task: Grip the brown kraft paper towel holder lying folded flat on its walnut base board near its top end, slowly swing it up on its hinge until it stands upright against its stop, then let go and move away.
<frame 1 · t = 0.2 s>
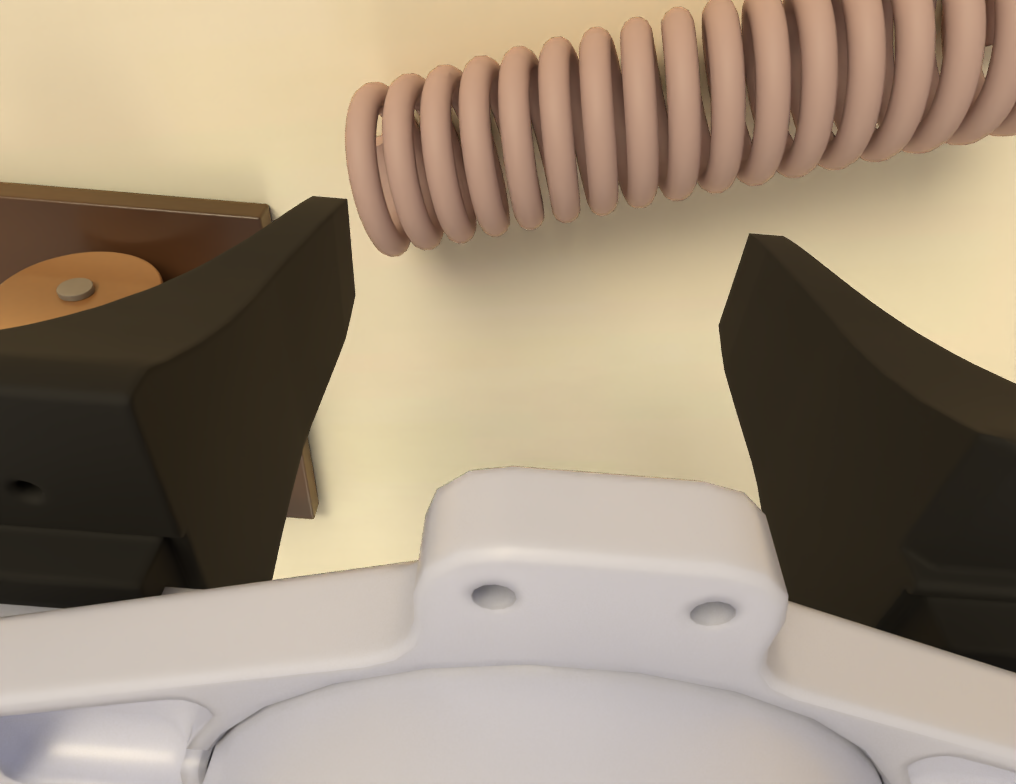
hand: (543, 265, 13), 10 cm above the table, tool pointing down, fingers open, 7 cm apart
pink piece: (663, 75, 21), on the table
towel holder: (112, 382, 24), point 4 cm above the table, hinge at 90.1°, touching base board
base board: (173, 370, 29), on the table
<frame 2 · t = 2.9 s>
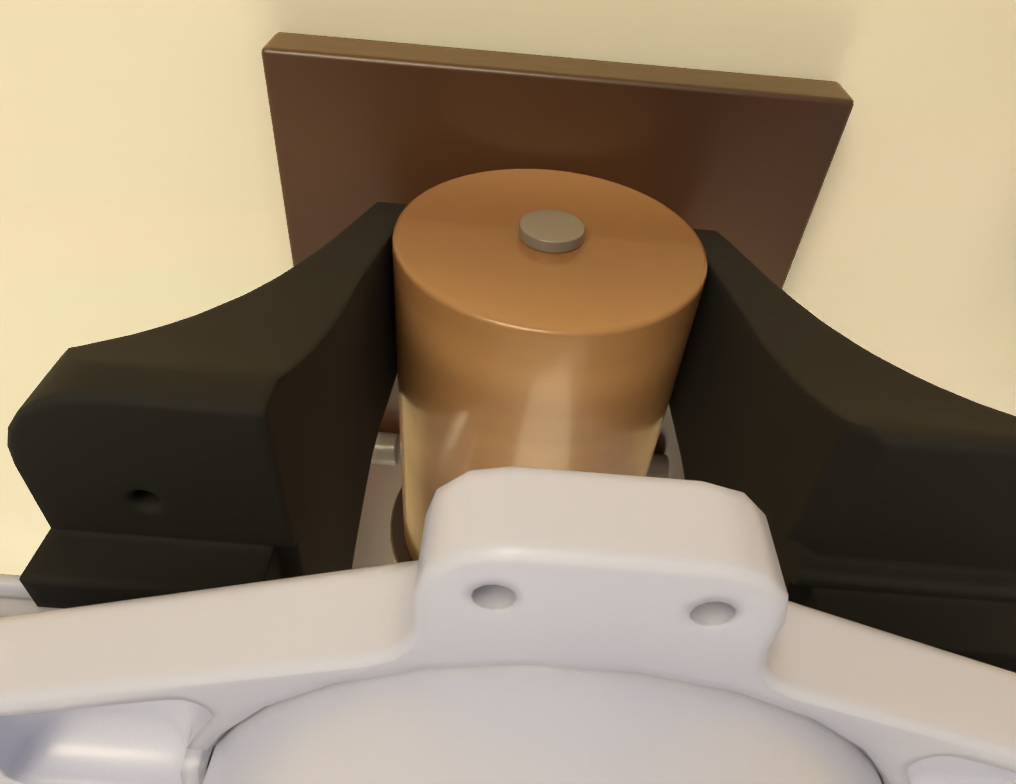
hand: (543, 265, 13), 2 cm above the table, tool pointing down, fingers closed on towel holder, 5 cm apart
towel holder: (529, 409, 13), point 4 cm above the table, hinge at 90.1°, touching base board, gripper
base board: (522, 383, 18), on the table
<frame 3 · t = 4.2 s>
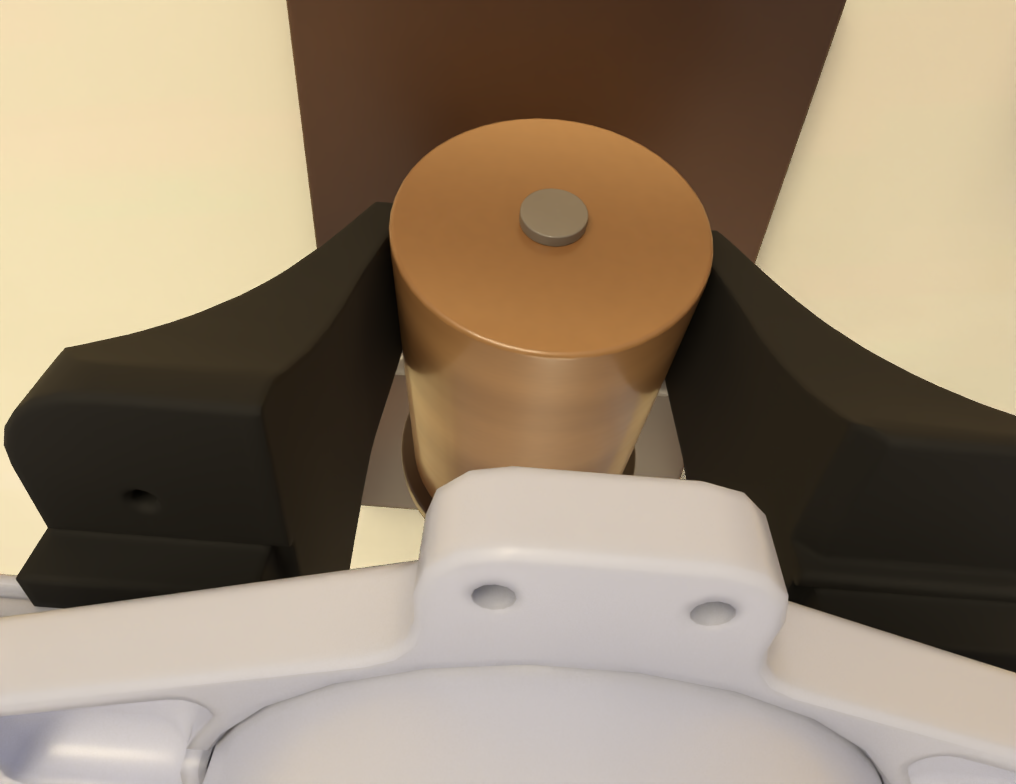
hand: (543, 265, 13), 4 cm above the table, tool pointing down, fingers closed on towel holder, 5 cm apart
towel holder: (531, 361, 14), point 5 cm above the table, hinge at 73.9°, touching gripper
base board: (528, 296, 18), on the table
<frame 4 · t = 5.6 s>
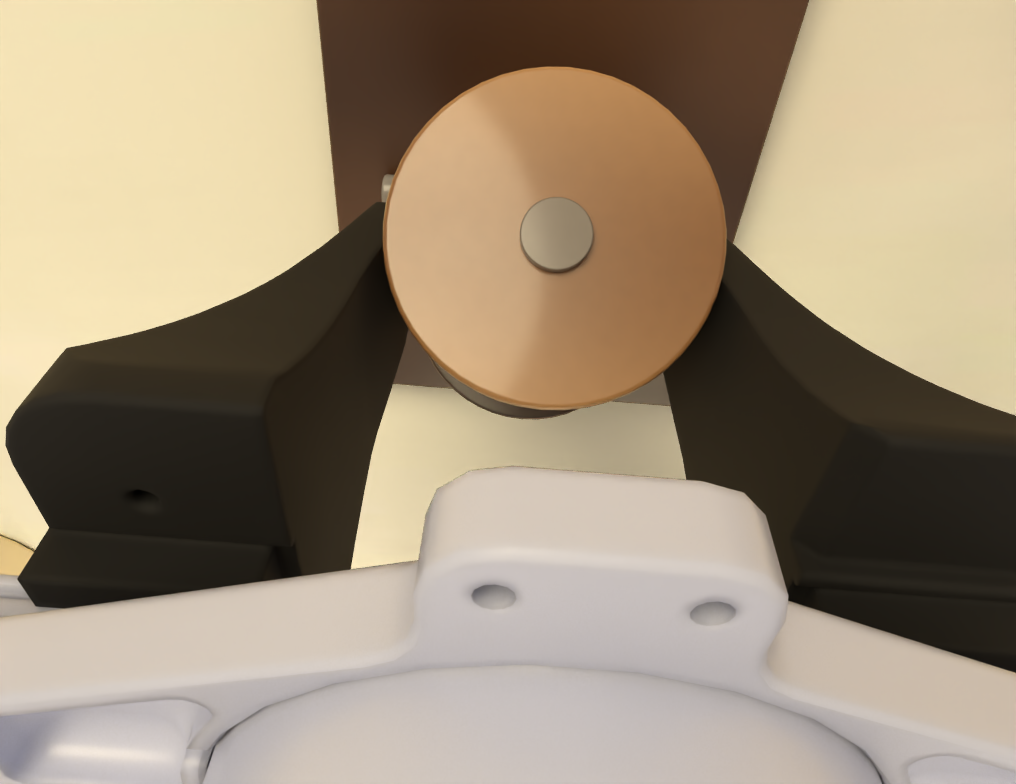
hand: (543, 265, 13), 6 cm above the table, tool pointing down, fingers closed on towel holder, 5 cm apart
towel holder: (539, 280, 14), point 6 cm above the table, hinge at 42.5°, touching gripper
base board: (544, 129, 17), on the table
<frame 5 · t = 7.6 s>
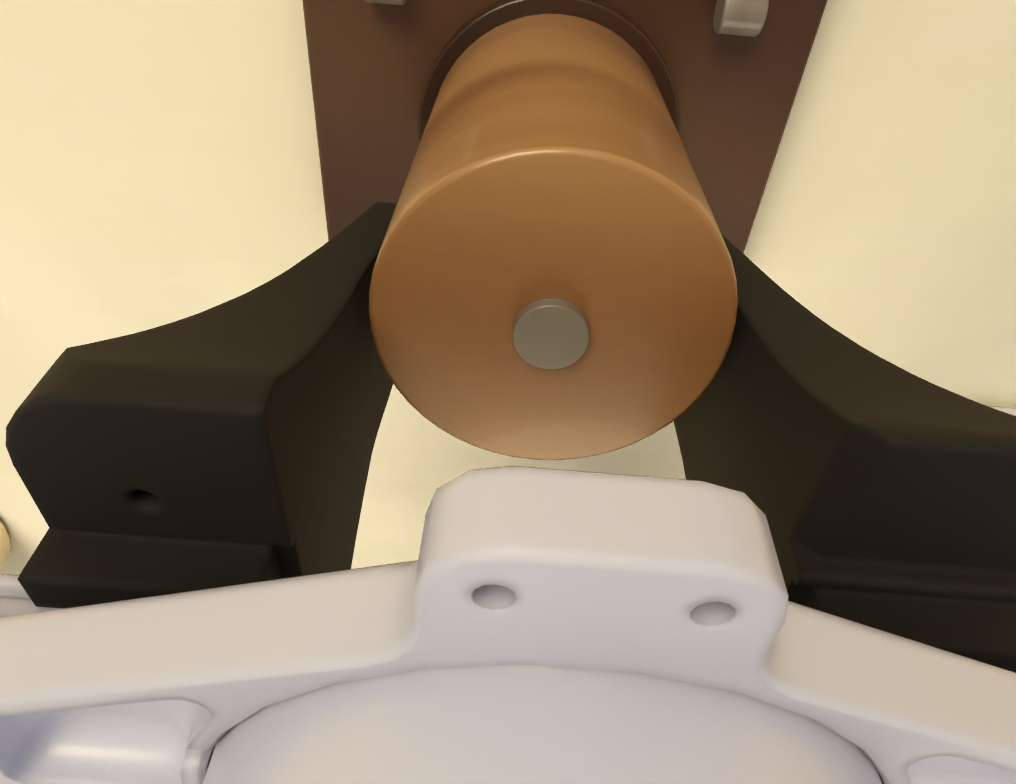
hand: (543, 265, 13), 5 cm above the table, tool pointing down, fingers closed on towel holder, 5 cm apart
towel holder: (548, 210, 12), point 5 cm above the table, hinge at 3.2°, touching gripper
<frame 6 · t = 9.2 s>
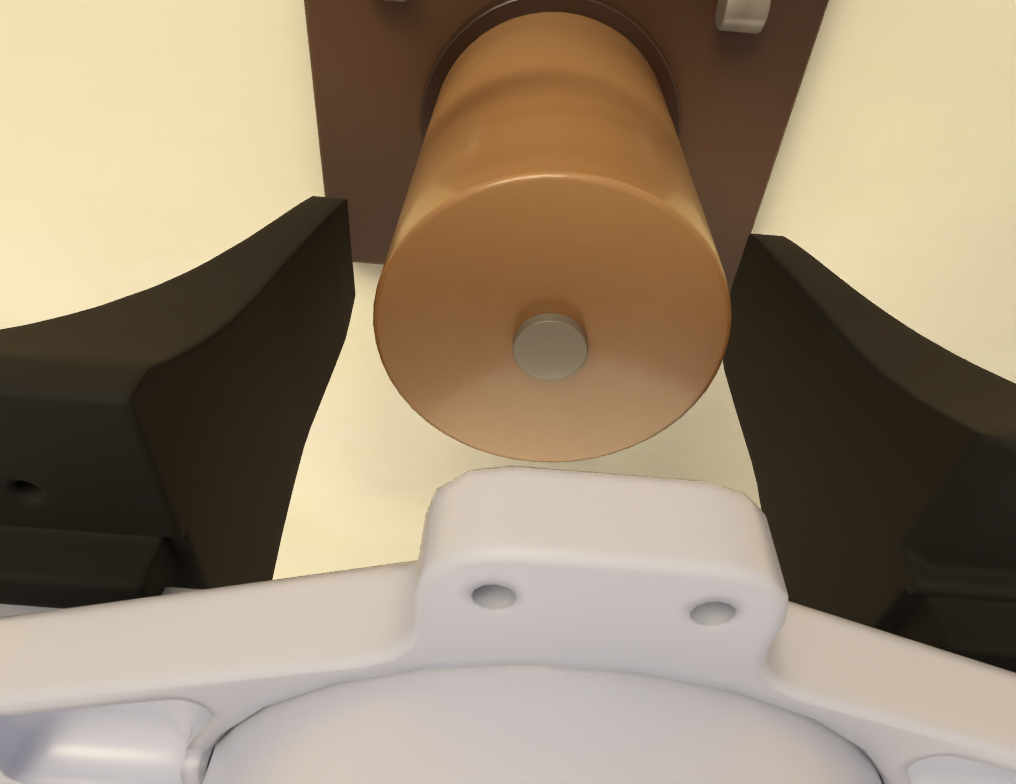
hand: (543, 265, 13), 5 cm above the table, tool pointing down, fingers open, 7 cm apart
towel holder: (549, 214, 12), point 5 cm above the table, hinge at 0.6°
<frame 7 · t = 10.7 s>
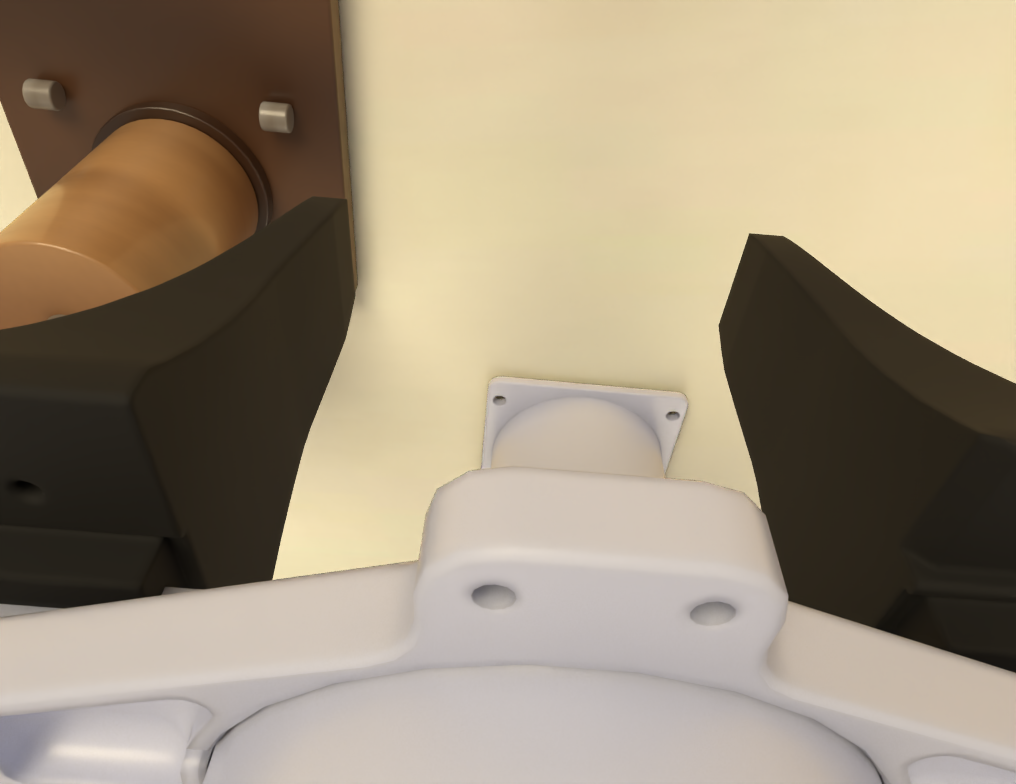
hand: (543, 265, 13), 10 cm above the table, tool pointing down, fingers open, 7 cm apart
towel holder: (134, 251, 20), point 5 cm above the table, hinge at 0.0°, touching base board
base board: (170, 44, 21), on the table
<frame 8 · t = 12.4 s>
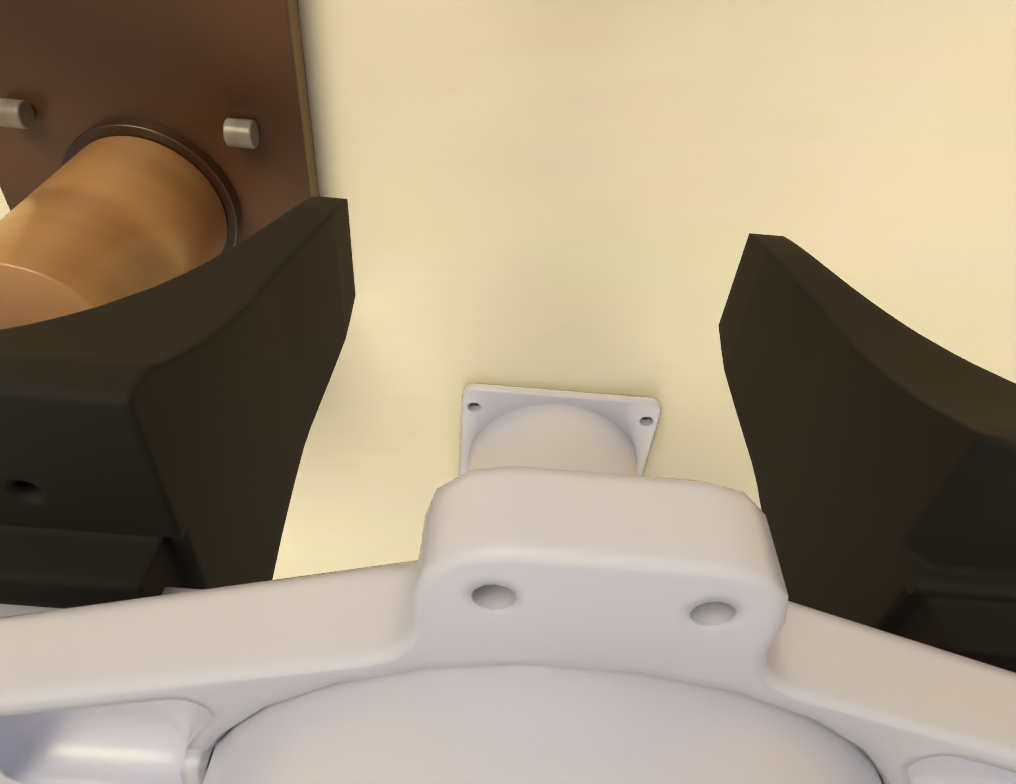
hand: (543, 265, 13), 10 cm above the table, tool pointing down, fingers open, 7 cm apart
towel holder: (101, 266, 20), point 5 cm above the table, hinge at 0.0°, touching base board
base board: (136, 62, 21), on the table
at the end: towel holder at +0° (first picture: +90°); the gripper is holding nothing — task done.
